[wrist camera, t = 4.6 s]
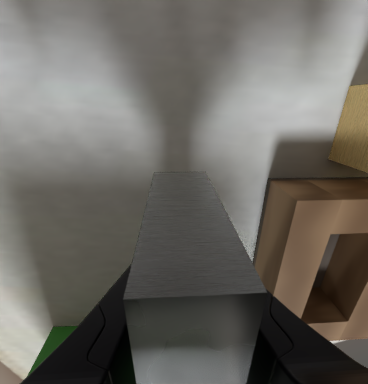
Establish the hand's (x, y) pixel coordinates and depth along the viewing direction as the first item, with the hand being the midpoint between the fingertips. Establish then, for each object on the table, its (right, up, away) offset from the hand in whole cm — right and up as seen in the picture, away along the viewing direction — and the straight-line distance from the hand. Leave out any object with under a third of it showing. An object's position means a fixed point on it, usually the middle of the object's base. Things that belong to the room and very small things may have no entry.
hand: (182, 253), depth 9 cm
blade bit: (0, +1, +2) cm, 2 cm away
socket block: (+12, -2, +10) cm, 15 cm away
